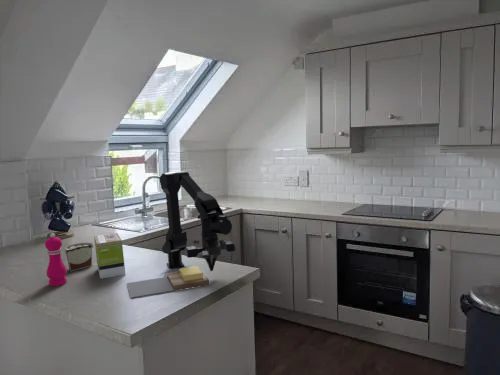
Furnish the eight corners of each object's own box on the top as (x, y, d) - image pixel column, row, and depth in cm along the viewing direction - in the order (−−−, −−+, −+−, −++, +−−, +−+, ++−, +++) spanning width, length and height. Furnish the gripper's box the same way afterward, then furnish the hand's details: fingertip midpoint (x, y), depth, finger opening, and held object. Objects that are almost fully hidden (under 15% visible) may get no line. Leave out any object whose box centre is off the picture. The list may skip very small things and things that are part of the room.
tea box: (97, 269, 186) (93, 235, 184) (121, 265, 190) (118, 232, 188) (99, 279, 172) (96, 242, 170) (125, 274, 176) (122, 239, 174)
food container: (89, 262, 196) (86, 240, 195) (95, 265, 192) (93, 242, 191) (61, 269, 188) (59, 247, 186) (67, 272, 183) (64, 249, 182)
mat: (127, 284, 164) (126, 283, 164) (166, 278, 169) (166, 276, 169) (130, 298, 149) (130, 297, 149) (174, 291, 154) (174, 290, 154)
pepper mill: (70, 279, 173) (65, 230, 171) (63, 286, 166) (58, 234, 164) (52, 280, 173) (46, 231, 171) (44, 287, 166) (38, 236, 163)
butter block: (179, 273, 167) (179, 268, 167) (197, 271, 170) (197, 266, 169) (184, 281, 159) (183, 275, 159) (203, 277, 161) (202, 272, 161)
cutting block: (167, 278, 169) (166, 273, 169) (199, 273, 173) (199, 268, 173) (173, 291, 155) (173, 285, 155) (209, 285, 159) (209, 279, 159)
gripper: (189, 238, 154) (192, 281, 156) (239, 232, 160) (241, 273, 163) (183, 232, 165) (185, 272, 167) (230, 226, 171) (232, 265, 173)
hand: (211, 270), depth 167 cm, fingers closed
